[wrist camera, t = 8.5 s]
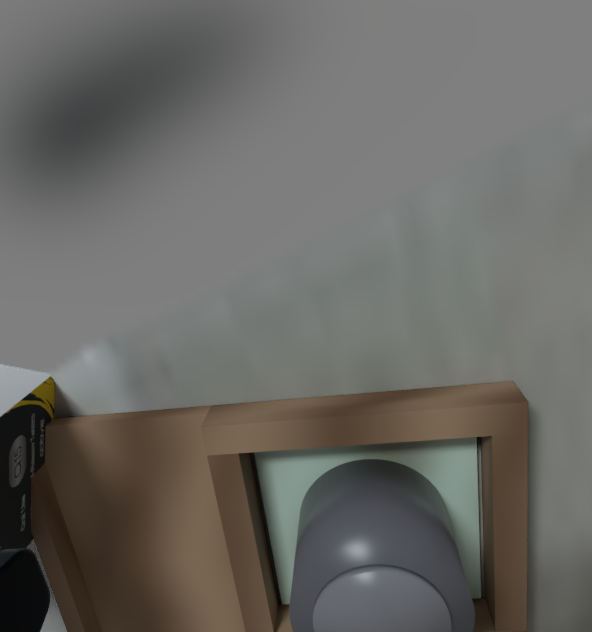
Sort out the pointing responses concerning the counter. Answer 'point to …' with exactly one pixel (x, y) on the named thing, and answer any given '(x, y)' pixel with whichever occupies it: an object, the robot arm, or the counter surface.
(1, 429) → the medicine bottle
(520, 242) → the counter surface
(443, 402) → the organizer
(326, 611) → the cap
